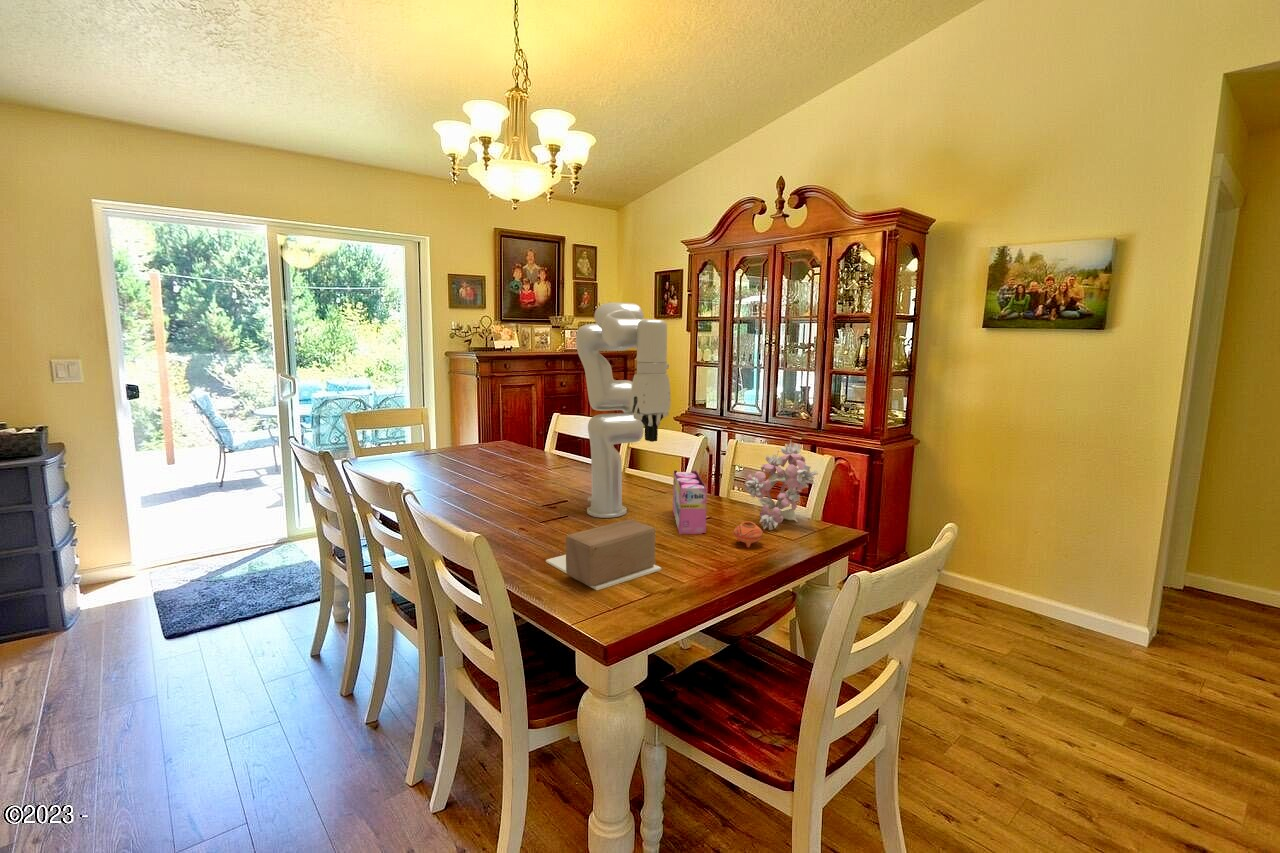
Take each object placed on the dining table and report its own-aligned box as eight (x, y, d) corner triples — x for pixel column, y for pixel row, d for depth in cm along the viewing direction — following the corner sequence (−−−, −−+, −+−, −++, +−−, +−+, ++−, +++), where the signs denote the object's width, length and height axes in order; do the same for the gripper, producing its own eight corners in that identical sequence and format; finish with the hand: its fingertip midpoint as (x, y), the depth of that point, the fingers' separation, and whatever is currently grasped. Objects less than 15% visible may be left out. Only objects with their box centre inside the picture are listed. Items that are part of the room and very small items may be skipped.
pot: (751, 536, 171) (755, 515, 169) (765, 551, 164) (770, 530, 162) (725, 538, 168) (730, 517, 166) (739, 554, 162) (744, 532, 159)
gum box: (671, 510, 198) (672, 469, 196) (696, 510, 198) (696, 469, 196) (679, 534, 174) (679, 488, 172) (706, 534, 174) (707, 487, 172)
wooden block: (656, 526, 147) (589, 545, 134) (656, 566, 148) (590, 588, 135) (629, 517, 154) (563, 534, 141) (630, 555, 156) (564, 575, 143)
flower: (719, 509, 193) (733, 445, 179) (779, 494, 202) (796, 433, 188) (753, 553, 178) (771, 488, 164) (816, 536, 187) (838, 473, 173)
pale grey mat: (545, 562, 153) (545, 559, 152) (607, 545, 164) (607, 543, 164) (596, 590, 136) (596, 587, 136) (661, 569, 148) (661, 567, 147)
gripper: (664, 367, 162) (663, 435, 165) (618, 369, 153) (618, 441, 156) (683, 368, 156) (682, 439, 159) (637, 371, 147) (636, 446, 150)
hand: (651, 440), depth 157 cm, fingers closed
